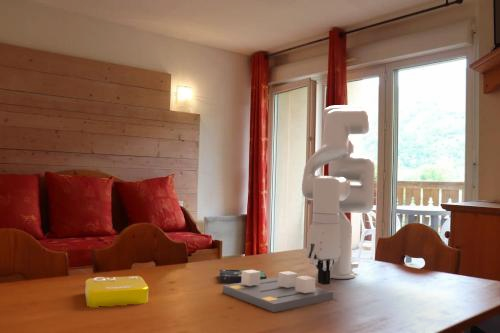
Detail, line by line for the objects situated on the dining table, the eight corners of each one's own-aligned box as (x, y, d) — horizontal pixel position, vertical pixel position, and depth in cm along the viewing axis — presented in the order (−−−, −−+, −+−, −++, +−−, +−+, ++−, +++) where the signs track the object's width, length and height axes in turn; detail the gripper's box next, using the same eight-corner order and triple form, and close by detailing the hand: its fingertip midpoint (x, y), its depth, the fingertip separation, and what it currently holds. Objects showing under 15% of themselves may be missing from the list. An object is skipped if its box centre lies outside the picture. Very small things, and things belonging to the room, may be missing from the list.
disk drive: (219, 285, 138) (267, 285, 139) (219, 276, 138) (267, 276, 139) (219, 277, 148) (263, 277, 149) (219, 269, 148) (263, 269, 149)
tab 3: (305, 288, 125) (305, 275, 125) (314, 291, 122) (315, 278, 122) (295, 290, 122) (295, 277, 122) (304, 293, 119) (305, 279, 119)
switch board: (279, 283, 140) (279, 276, 140) (332, 299, 123) (333, 291, 123) (222, 292, 127) (222, 285, 127) (273, 312, 109) (274, 303, 110)
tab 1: (252, 281, 131) (252, 269, 131) (259, 284, 128) (260, 271, 128) (241, 283, 128) (241, 270, 128) (249, 286, 125) (249, 273, 125)
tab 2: (288, 283, 130) (288, 271, 130) (297, 285, 127) (297, 273, 127) (278, 285, 128) (278, 272, 128) (286, 287, 125) (287, 274, 125)
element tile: (87, 309, 108) (88, 290, 108) (84, 294, 122) (85, 276, 122) (149, 304, 114) (150, 286, 114) (140, 290, 128) (140, 273, 128)
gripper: (332, 217, 135) (331, 278, 134) (297, 219, 125) (295, 284, 125) (352, 219, 129) (350, 283, 128) (317, 221, 120) (315, 290, 119)
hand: (323, 283), depth 127 cm, fingers closed
